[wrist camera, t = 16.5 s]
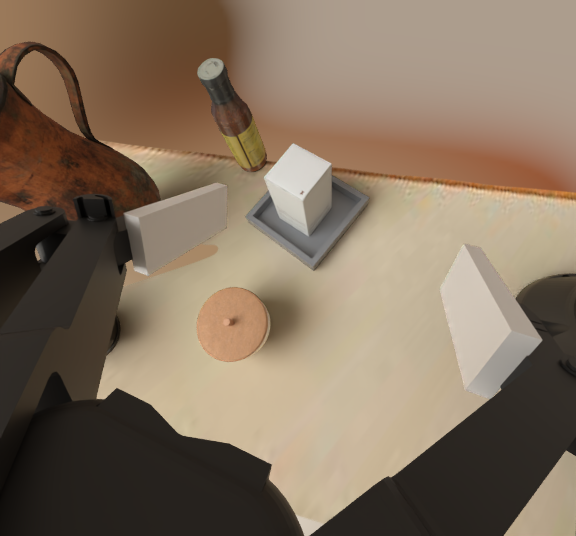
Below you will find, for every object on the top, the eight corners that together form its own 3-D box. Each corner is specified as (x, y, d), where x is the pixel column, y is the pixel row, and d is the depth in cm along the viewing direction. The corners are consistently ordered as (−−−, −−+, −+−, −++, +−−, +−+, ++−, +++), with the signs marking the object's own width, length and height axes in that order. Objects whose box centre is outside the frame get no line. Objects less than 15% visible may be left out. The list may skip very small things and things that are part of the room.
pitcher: (97, 259, 55) (-155, 165, 26) (140, 171, 60) (-32, 11, 31) (165, 280, 51) (-40, 195, 23) (206, 184, 56) (79, 16, 28)
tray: (367, 204, 49) (369, 197, 47) (313, 270, 47) (312, 266, 45) (300, 164, 54) (299, 155, 52) (249, 222, 52) (245, 216, 50)
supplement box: (332, 207, 50) (334, 163, 38) (308, 238, 49) (302, 202, 37) (301, 188, 52) (293, 141, 40) (277, 217, 51) (261, 177, 39)
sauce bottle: (266, 146, 57) (235, 45, 38) (268, 170, 55) (237, 78, 36) (236, 151, 57) (191, 55, 38) (237, 176, 55) (190, 88, 37)
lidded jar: (213, 357, 46) (185, 360, 37) (220, 295, 49) (196, 284, 40) (274, 361, 44) (261, 364, 35) (278, 296, 47) (266, 285, 38)
